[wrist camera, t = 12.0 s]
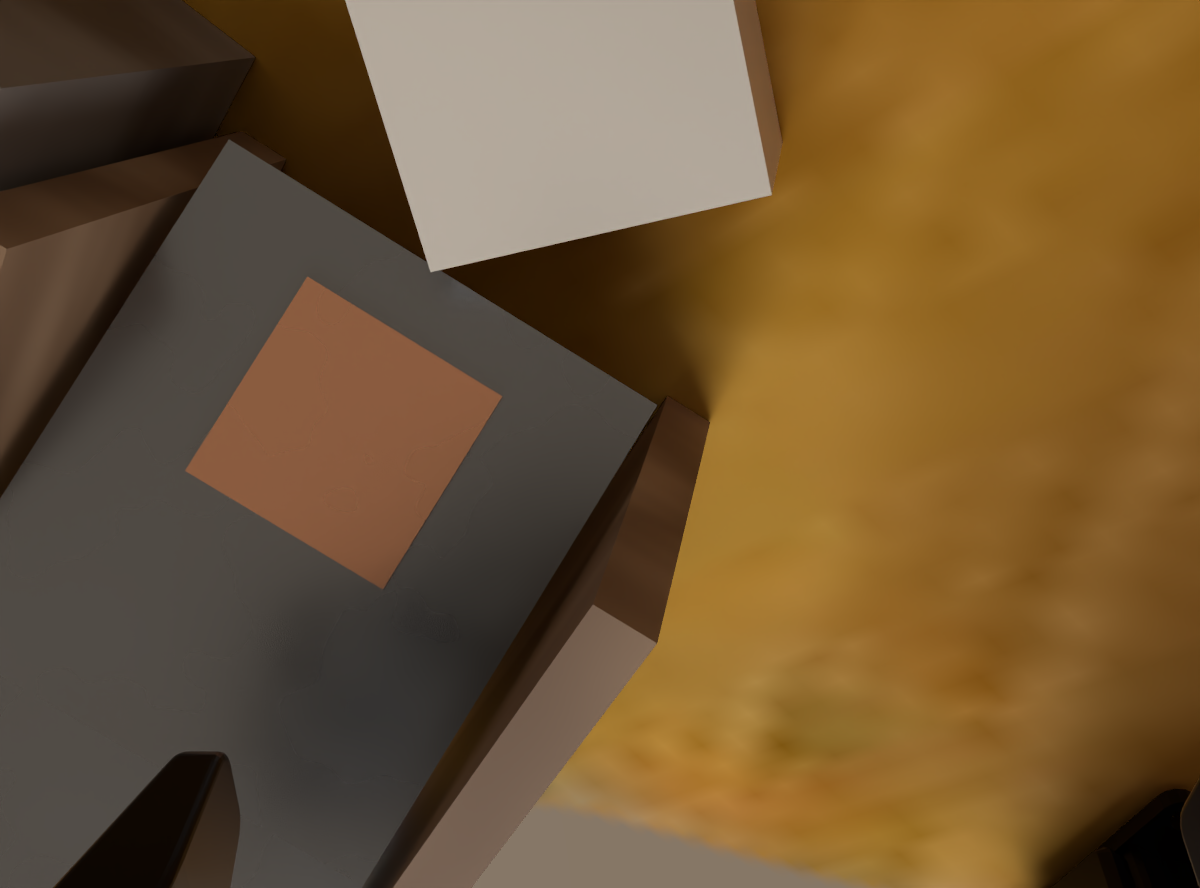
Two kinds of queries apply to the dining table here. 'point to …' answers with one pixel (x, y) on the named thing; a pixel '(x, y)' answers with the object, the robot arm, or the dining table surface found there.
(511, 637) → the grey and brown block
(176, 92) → the stand
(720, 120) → the off-white block
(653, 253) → the dining table surface
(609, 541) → the frame
